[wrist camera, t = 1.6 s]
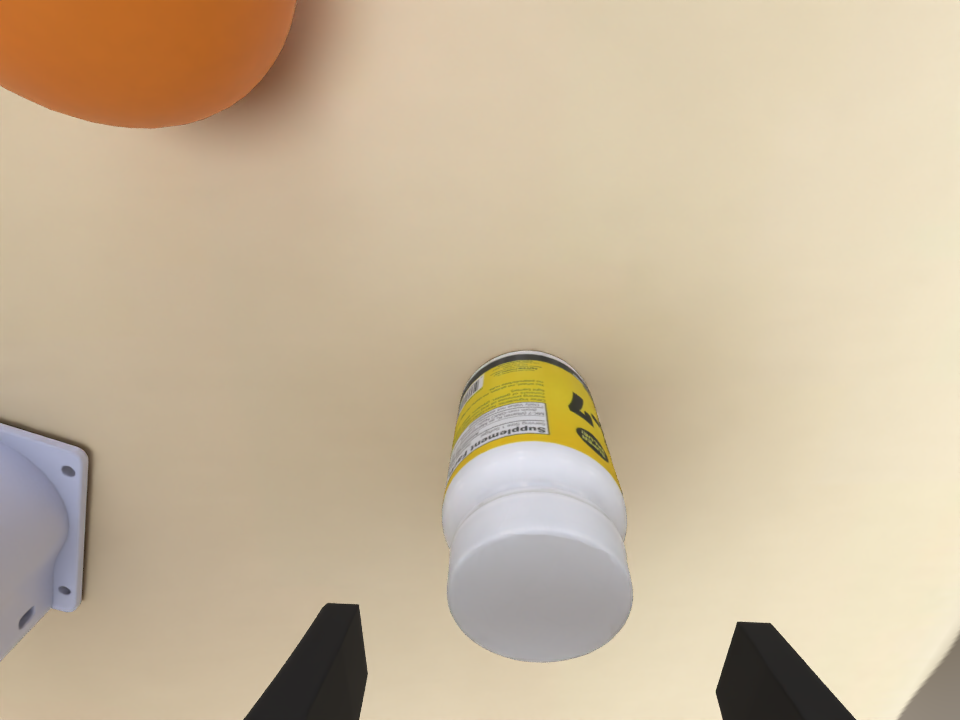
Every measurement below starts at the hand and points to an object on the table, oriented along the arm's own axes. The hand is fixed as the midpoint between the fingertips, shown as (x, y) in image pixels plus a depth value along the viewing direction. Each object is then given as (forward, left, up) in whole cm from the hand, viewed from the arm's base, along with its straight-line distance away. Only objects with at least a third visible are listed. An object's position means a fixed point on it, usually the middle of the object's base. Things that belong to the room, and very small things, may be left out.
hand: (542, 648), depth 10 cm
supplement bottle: (0, 0, -10) cm, 10 cm away
